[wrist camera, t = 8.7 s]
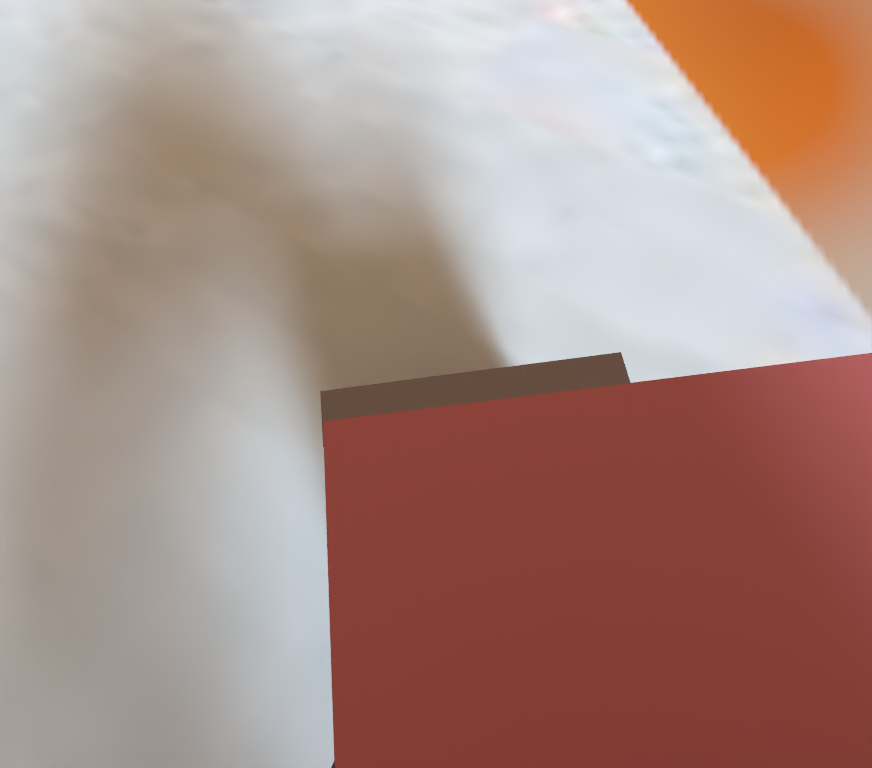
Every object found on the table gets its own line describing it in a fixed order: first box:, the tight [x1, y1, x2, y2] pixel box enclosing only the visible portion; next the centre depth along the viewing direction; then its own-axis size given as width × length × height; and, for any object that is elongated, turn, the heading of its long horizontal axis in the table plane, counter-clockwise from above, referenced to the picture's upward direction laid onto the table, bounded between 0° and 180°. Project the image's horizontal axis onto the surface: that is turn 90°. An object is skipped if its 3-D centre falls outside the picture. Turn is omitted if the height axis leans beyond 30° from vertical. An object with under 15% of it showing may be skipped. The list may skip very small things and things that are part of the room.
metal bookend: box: [321, 352, 630, 447], centre depth 17 cm, size 2×8×9 cm, turn 97°
